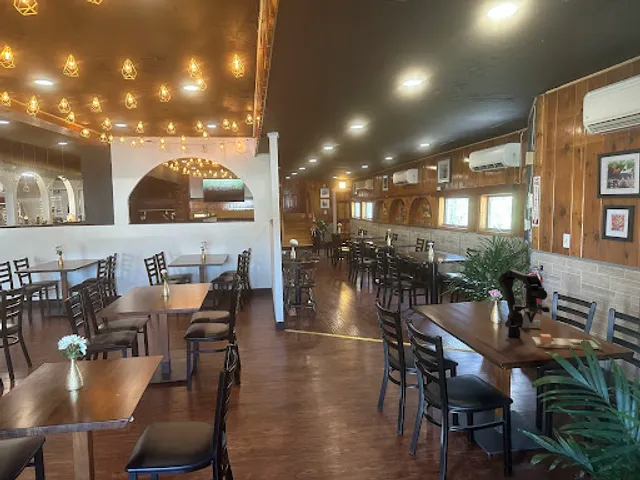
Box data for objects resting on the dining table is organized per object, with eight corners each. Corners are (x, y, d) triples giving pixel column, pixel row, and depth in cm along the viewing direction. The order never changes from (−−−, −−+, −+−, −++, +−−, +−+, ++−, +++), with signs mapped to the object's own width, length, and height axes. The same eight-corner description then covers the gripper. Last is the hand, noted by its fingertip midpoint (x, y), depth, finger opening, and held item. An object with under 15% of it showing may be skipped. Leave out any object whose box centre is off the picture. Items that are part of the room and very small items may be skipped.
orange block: (541, 343, 247) (542, 336, 247) (539, 340, 252) (540, 333, 252) (551, 343, 246) (551, 336, 246) (549, 341, 251) (549, 334, 250)
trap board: (536, 346, 247) (536, 340, 247) (531, 340, 260) (531, 334, 259) (601, 350, 238) (601, 344, 238) (593, 343, 251) (593, 337, 250)
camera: (541, 329, 281) (541, 307, 280) (522, 329, 284) (522, 307, 283) (537, 326, 290) (537, 304, 289) (519, 325, 292) (519, 304, 291)
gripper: (516, 298, 244) (515, 325, 245) (552, 299, 239) (551, 327, 240) (512, 295, 255) (512, 320, 256) (547, 296, 250) (547, 322, 251)
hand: (530, 322), depth 250 cm, fingers closed
